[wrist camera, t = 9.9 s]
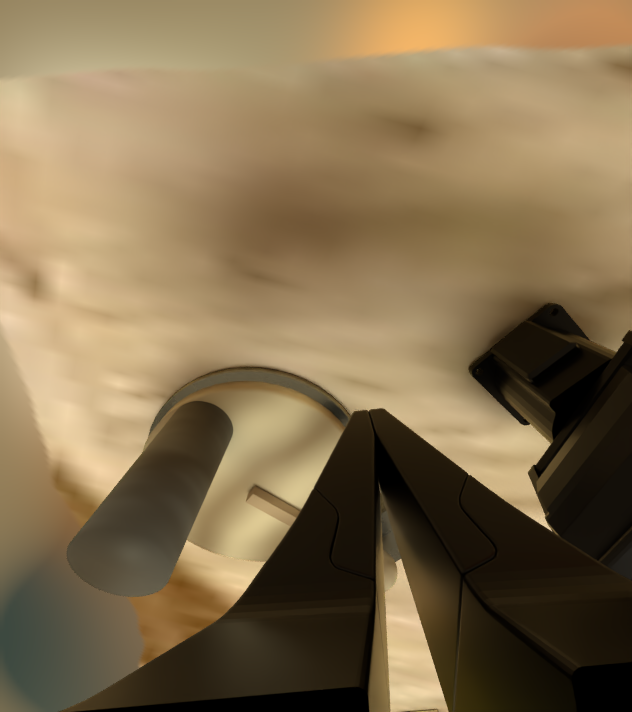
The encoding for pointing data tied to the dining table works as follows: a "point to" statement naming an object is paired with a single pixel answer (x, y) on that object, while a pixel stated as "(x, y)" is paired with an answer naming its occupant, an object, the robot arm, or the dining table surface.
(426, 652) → the dining table surface
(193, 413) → the disc
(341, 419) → the base
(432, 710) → the small box
